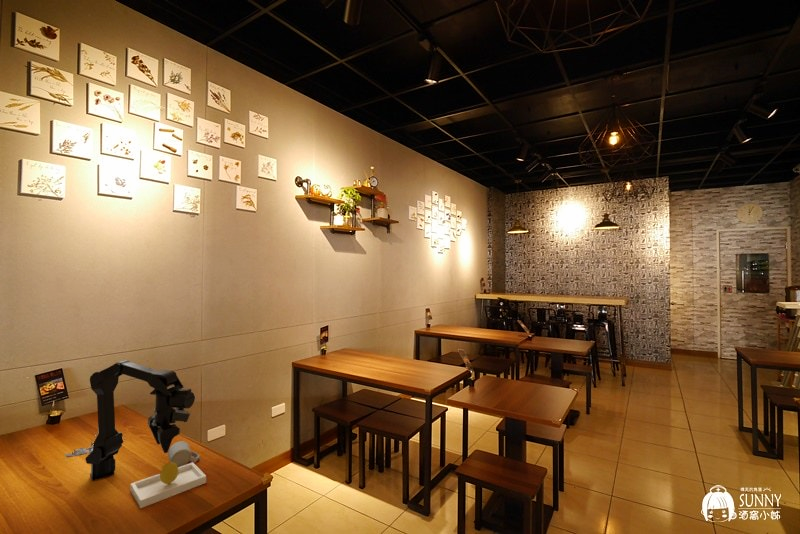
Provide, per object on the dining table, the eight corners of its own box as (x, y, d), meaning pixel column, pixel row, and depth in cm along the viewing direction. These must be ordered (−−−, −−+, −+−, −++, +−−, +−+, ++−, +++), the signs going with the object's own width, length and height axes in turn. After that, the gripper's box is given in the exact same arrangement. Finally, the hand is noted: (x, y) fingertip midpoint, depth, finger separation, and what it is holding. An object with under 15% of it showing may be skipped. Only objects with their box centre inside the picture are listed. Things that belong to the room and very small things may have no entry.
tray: (140, 508, 118) (140, 500, 118) (130, 490, 127) (130, 483, 127) (206, 482, 132) (206, 475, 132) (192, 468, 142) (192, 462, 142)
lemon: (165, 480, 132) (165, 458, 133) (181, 479, 133) (181, 457, 133) (156, 489, 127) (156, 466, 127) (172, 488, 127) (173, 465, 128)
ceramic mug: (170, 471, 140) (171, 451, 140) (167, 462, 146) (168, 443, 146) (201, 463, 147) (201, 443, 147) (196, 455, 153) (197, 436, 153)
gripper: (196, 407, 134) (194, 450, 134) (180, 395, 147) (179, 433, 147) (161, 415, 126) (159, 460, 126) (148, 401, 139) (146, 442, 139)
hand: (162, 448), depth 135 cm, fingers open, 9 cm apart
